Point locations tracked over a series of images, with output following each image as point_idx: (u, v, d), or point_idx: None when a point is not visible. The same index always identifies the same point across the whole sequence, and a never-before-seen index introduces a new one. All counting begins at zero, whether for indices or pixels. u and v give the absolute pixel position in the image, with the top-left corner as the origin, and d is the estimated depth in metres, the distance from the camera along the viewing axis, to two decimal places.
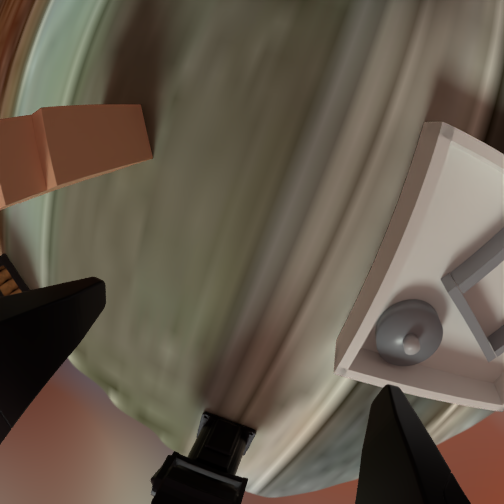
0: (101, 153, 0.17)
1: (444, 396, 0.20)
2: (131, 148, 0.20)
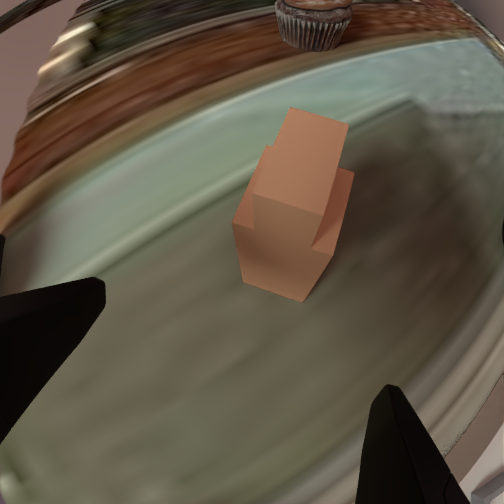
0: None
1: None
2: None
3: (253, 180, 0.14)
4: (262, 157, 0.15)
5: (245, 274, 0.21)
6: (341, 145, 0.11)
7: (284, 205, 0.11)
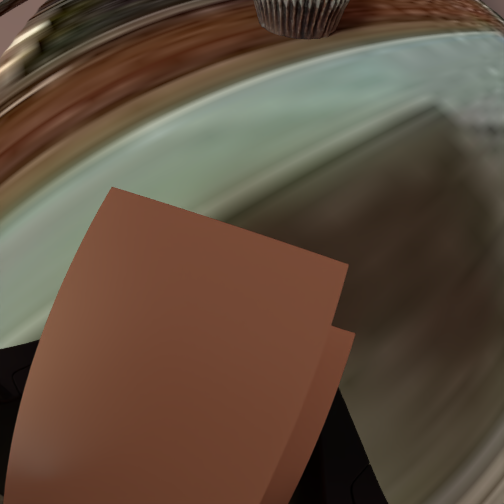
0: None
1: None
2: None
3: None
4: None
5: None
6: (295, 402, 0.02)
7: None
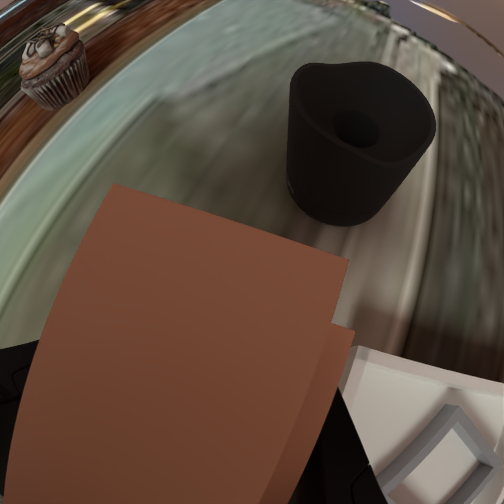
0: None
1: None
2: None
3: None
4: None
5: None
6: (296, 397, 0.02)
7: None
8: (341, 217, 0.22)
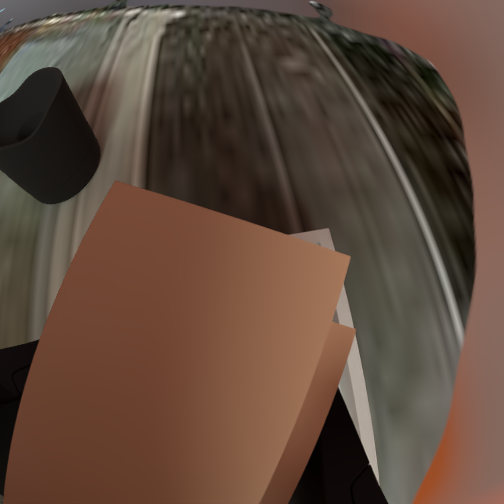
0: None
1: None
2: None
3: None
4: None
5: None
6: (298, 393, 0.02)
7: None
8: (56, 191, 0.24)
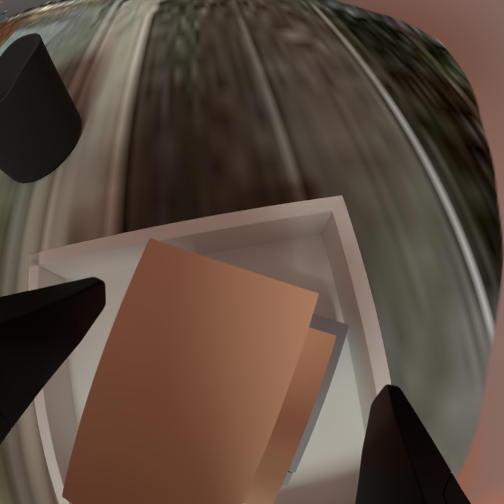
0: None
1: None
2: None
3: None
4: None
5: None
6: (284, 384, 0.04)
7: None
8: (30, 166, 0.20)
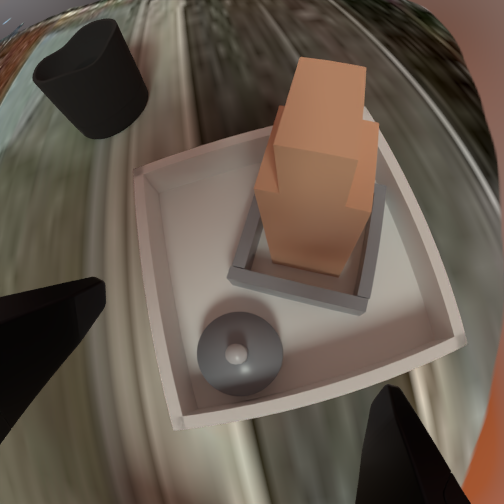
0: None
1: (342, 385, 0.16)
2: None
3: (271, 142, 0.13)
4: (277, 118, 0.13)
5: (274, 253, 0.19)
6: (363, 87, 0.09)
7: (312, 154, 0.09)
8: (111, 120, 0.27)
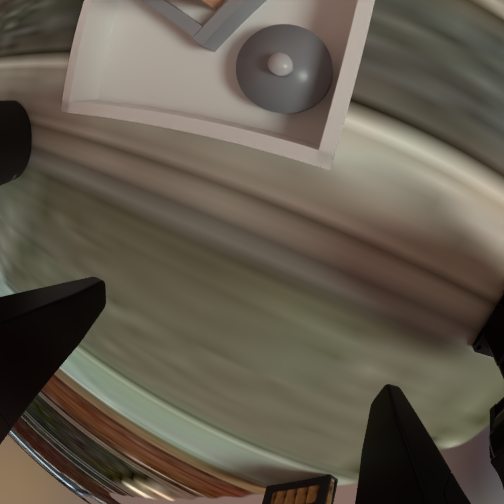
0: None
1: None
2: None
3: None
4: None
5: None
6: None
7: None
8: (16, 138, 0.21)
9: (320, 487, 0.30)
